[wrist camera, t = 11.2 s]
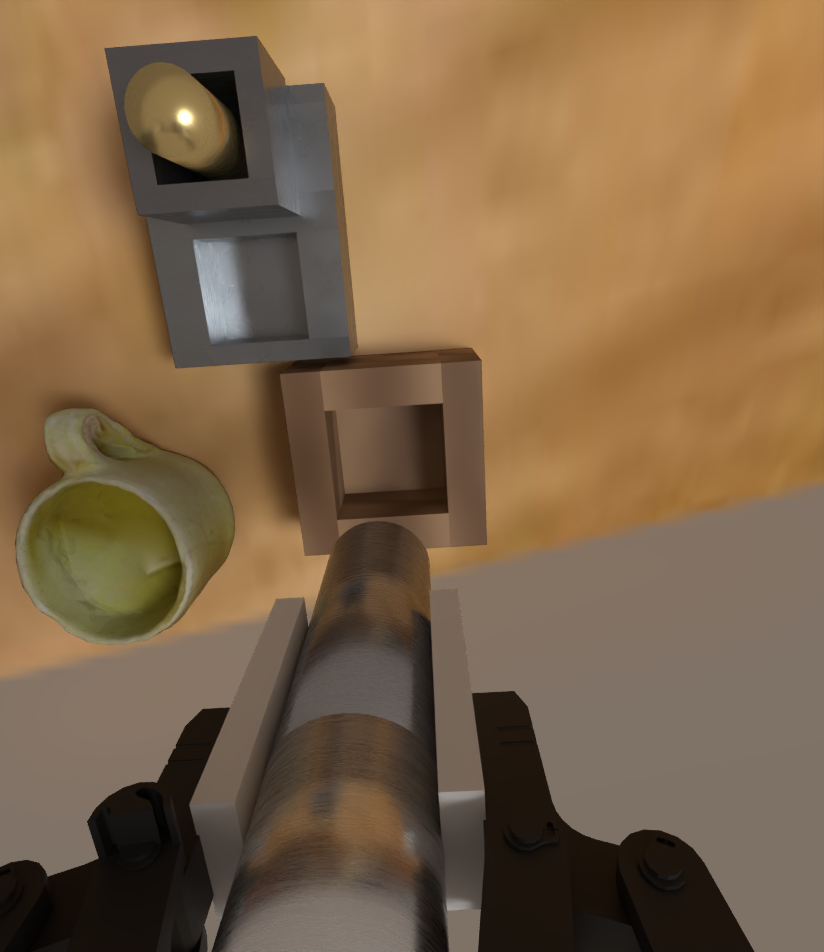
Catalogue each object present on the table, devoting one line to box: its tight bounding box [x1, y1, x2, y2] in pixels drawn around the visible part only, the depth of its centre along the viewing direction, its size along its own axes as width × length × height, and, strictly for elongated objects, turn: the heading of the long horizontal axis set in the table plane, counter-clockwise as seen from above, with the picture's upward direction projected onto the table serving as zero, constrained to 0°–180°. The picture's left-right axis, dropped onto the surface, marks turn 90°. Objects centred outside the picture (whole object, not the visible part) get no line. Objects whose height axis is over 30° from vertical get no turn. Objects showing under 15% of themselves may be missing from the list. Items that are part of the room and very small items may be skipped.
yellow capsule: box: [124, 62, 249, 181], centre depth 23 cm, size 3×3×7 cm
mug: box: [15, 408, 235, 645], centre depth 33 cm, size 12×10×10 cm
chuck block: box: [104, 36, 358, 368], centre depth 28 cm, size 9×12×9 cm
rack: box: [280, 348, 487, 556], centre depth 33 cm, size 10×10×5 cm
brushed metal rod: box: [212, 521, 449, 952], centre depth 14 cm, size 3×3×14 cm
